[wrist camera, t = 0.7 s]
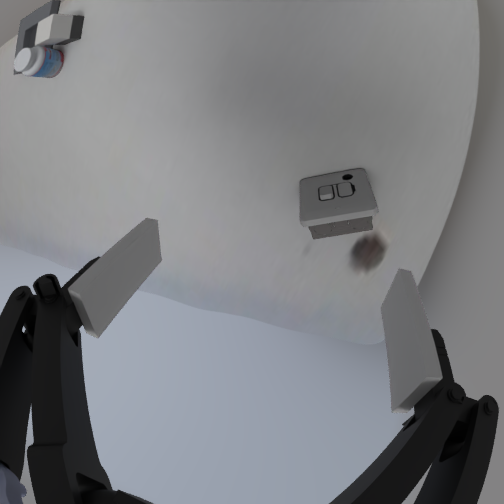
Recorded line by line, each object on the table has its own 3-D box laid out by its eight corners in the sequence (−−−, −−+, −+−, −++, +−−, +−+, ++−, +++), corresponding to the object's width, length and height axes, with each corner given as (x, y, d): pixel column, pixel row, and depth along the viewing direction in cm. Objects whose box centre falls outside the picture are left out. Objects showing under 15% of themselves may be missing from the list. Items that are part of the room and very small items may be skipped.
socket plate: (28, 20, 27) (20, 20, 25) (60, 0, 25) (52, -1, 23) (21, 73, 35) (13, 74, 33) (51, 60, 33) (42, 61, 31)
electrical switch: (364, 166, 34) (377, 194, 27) (369, 199, 37) (381, 234, 30) (299, 178, 38) (294, 209, 30) (308, 210, 40) (305, 246, 33)
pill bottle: (70, 57, 34) (39, 49, 24) (54, 82, 36) (21, 80, 26) (55, 47, 32) (23, 39, 22) (40, 71, 34) (7, 69, 24)
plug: (68, 23, 29) (38, 22, 22) (84, 16, 28) (53, 13, 21) (64, 44, 31) (34, 45, 25) (80, 38, 31) (49, 38, 24)
